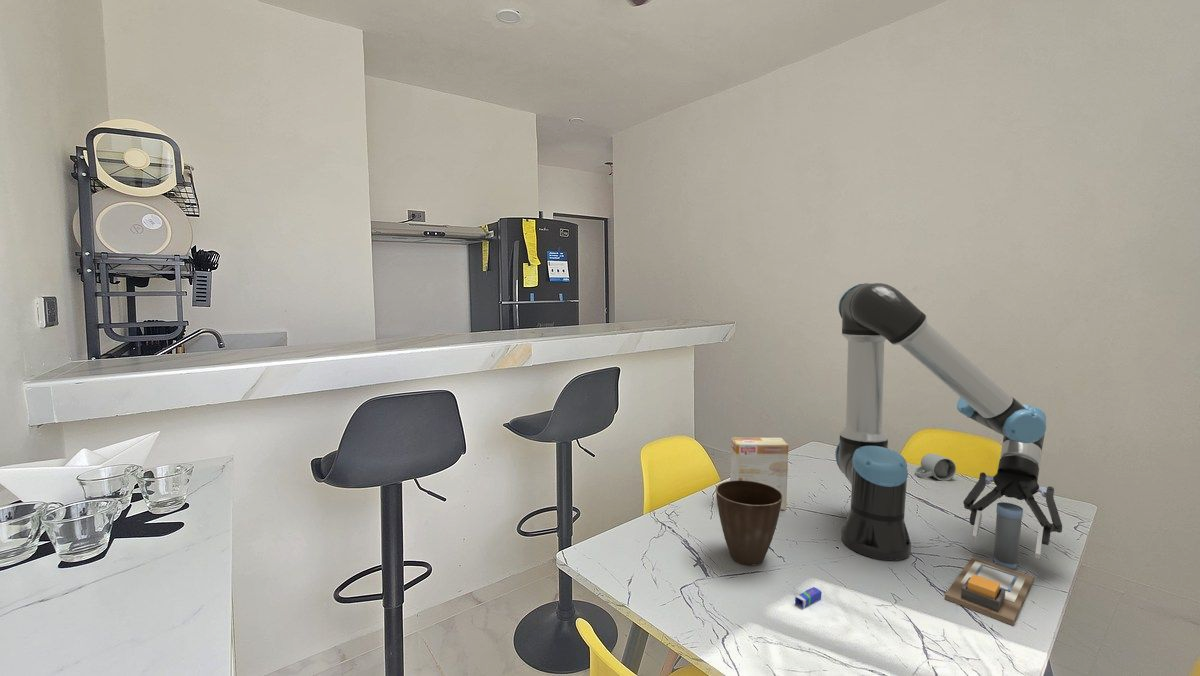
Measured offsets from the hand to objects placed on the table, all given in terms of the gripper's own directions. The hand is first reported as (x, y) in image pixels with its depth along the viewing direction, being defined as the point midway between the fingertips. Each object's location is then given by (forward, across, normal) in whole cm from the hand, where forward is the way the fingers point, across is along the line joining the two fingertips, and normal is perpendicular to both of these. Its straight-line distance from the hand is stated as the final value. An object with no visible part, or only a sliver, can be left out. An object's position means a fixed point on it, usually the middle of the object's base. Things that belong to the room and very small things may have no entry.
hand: (1005, 546), depth 113 cm
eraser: (+35, +26, +26) cm, 51 cm away
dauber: (+2, 0, -6) cm, 6 cm away
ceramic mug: (-35, +25, -44) cm, 61 cm away
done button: (+15, +1, +11) cm, 19 cm away
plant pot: (+30, +44, +22) cm, 57 cm away
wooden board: (+12, +1, +4) cm, 13 cm away
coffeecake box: (+10, +56, +1) cm, 57 cm away
